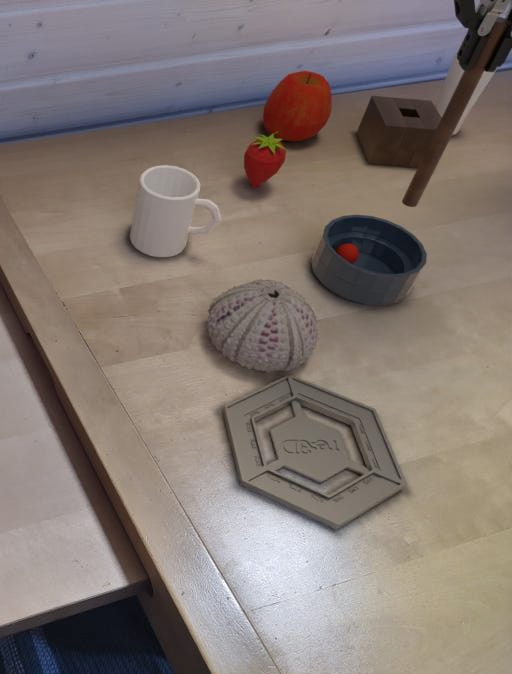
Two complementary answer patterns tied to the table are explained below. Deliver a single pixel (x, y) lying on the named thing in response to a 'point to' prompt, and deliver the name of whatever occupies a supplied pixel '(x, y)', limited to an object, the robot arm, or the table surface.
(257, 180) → the strawberry
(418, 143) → the holder
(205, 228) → the mug
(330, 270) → the bowl
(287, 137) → the apple
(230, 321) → the sea urchin shell
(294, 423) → the grey hexagonal plate
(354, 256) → the ball
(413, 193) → the stirring stick
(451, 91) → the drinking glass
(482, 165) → the table surface
